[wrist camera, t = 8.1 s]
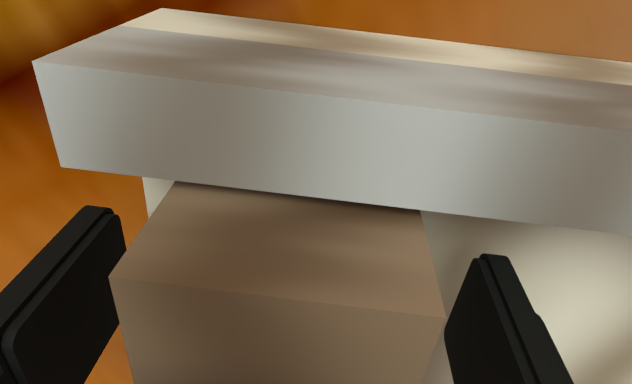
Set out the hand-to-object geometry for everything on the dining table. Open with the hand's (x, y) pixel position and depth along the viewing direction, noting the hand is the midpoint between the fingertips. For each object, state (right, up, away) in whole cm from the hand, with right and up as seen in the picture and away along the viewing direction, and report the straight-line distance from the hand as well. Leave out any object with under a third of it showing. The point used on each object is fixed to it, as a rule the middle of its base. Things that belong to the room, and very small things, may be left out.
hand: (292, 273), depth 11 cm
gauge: (0, -2, +3) cm, 3 cm away
